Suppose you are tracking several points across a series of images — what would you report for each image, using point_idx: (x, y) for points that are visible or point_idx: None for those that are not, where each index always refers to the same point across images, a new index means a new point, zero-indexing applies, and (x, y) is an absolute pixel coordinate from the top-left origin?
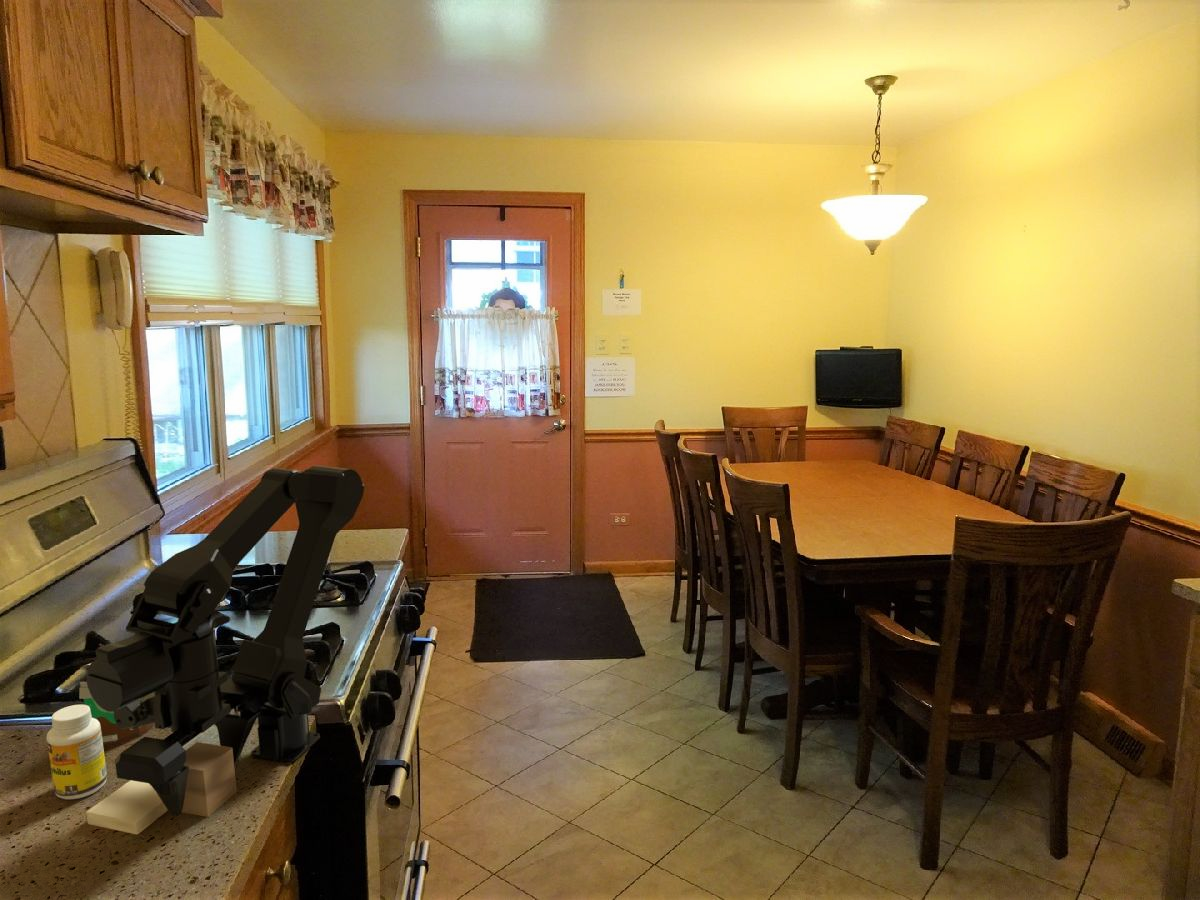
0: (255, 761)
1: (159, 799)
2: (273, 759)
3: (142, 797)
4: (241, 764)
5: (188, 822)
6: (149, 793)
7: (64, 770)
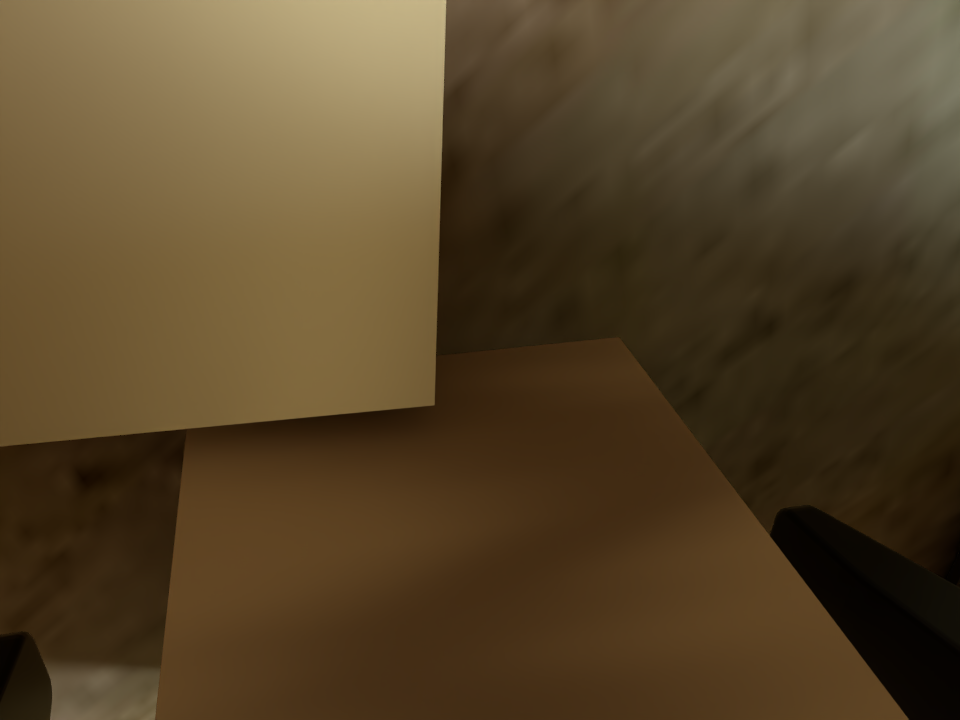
0: (956, 465)
1: (108, 365)
2: (950, 575)
3: (3, 107)
4: (929, 405)
5: (121, 618)
6: (144, 127)
7: None
